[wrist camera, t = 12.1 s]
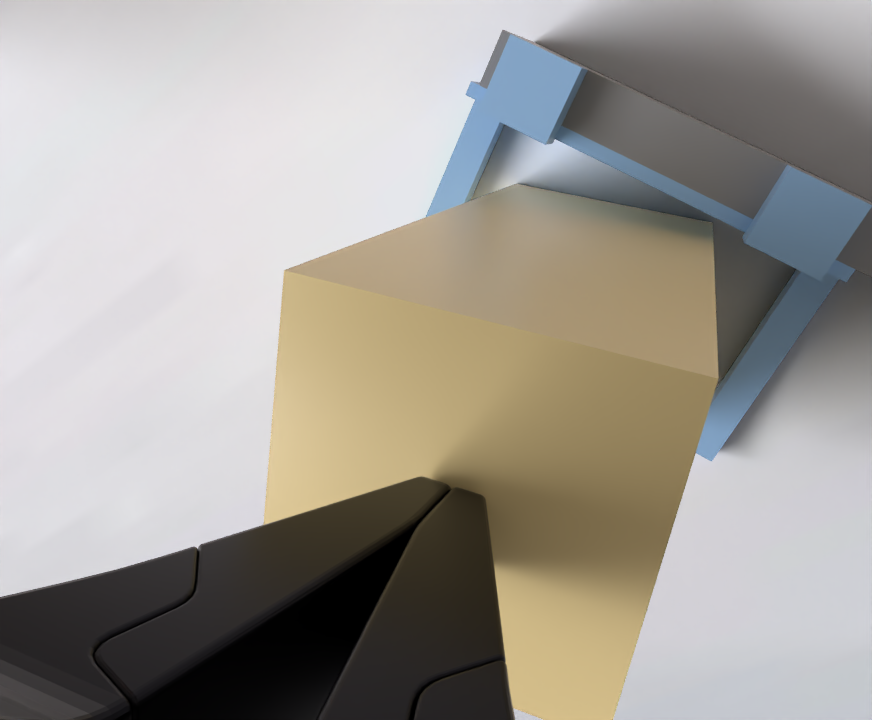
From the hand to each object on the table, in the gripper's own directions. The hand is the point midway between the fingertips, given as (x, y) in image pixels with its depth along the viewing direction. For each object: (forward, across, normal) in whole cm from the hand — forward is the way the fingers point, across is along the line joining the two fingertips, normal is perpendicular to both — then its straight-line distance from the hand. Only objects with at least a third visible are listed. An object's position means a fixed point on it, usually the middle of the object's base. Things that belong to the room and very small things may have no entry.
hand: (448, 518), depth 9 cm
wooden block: (+12, 0, 0) cm, 12 cm away
